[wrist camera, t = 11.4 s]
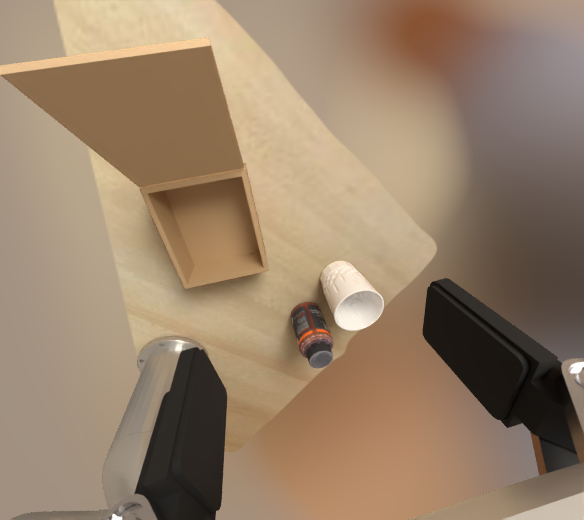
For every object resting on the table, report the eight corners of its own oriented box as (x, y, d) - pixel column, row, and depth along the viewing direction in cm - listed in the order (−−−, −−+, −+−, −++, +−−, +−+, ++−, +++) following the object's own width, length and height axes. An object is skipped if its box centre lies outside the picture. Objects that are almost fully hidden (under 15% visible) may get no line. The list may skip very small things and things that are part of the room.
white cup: (360, 256, 44) (389, 287, 35) (354, 291, 48) (378, 328, 39) (318, 258, 43) (337, 292, 34) (315, 295, 46) (331, 333, 38)
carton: (265, 252, 40) (268, 270, 35) (192, 267, 39) (184, 289, 34) (245, 163, 33) (245, 169, 28) (155, 179, 32) (138, 189, 27)
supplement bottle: (286, 322, 48) (297, 371, 39) (296, 298, 46) (310, 344, 36) (313, 325, 50) (330, 374, 40) (324, 303, 48) (345, 348, 38)
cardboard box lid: (210, 45, 15) (209, 37, 15) (0, 74, 14) (-1, 65, 14) (244, 168, 28) (243, 163, 28) (139, 187, 27) (138, 182, 27)
